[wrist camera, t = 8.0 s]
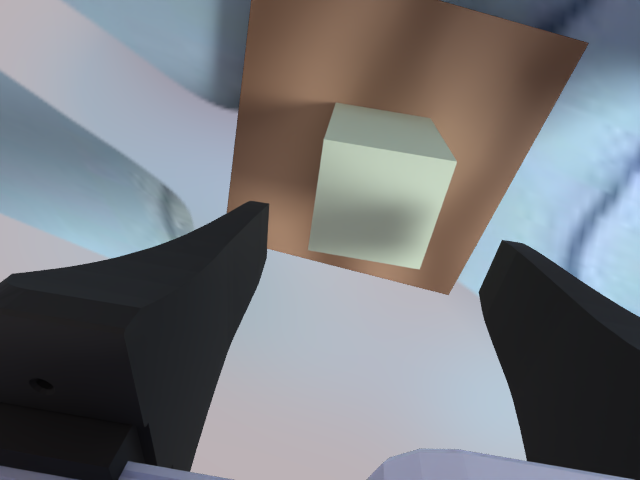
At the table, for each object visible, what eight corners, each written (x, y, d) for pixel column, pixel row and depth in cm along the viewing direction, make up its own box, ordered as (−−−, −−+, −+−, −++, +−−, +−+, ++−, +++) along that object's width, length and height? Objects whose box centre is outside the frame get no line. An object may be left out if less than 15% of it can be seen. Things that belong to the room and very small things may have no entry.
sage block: (430, 118, 17) (457, 161, 12) (405, 203, 20) (419, 269, 15) (335, 102, 18) (323, 139, 12) (322, 189, 20) (307, 250, 15)
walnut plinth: (566, 39, 17) (588, 43, 15) (442, 275, 24) (448, 295, 23) (268, -46, 17) (257, -52, 15) (234, 221, 24) (224, 237, 22)
